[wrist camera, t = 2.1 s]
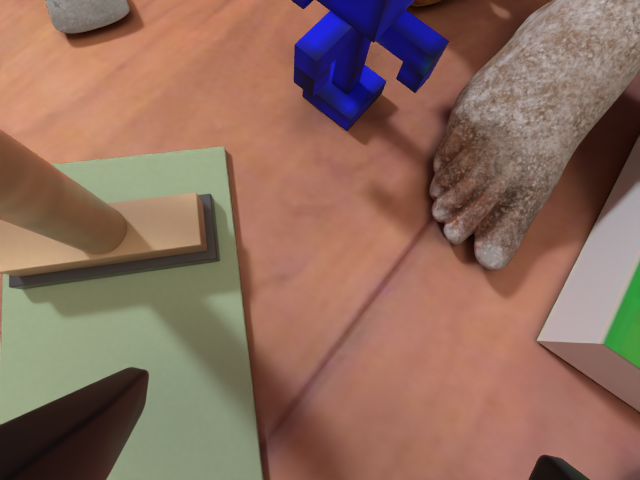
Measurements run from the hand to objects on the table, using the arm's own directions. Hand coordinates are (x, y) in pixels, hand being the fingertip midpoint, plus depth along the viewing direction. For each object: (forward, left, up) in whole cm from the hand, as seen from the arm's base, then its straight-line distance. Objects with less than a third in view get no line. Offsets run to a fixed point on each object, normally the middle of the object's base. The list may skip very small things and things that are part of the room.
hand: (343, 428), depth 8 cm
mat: (-6, +9, -14) cm, 17 cm away
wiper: (-4, +13, -13) cm, 19 cm away
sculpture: (+21, +4, -14) cm, 25 cm away
